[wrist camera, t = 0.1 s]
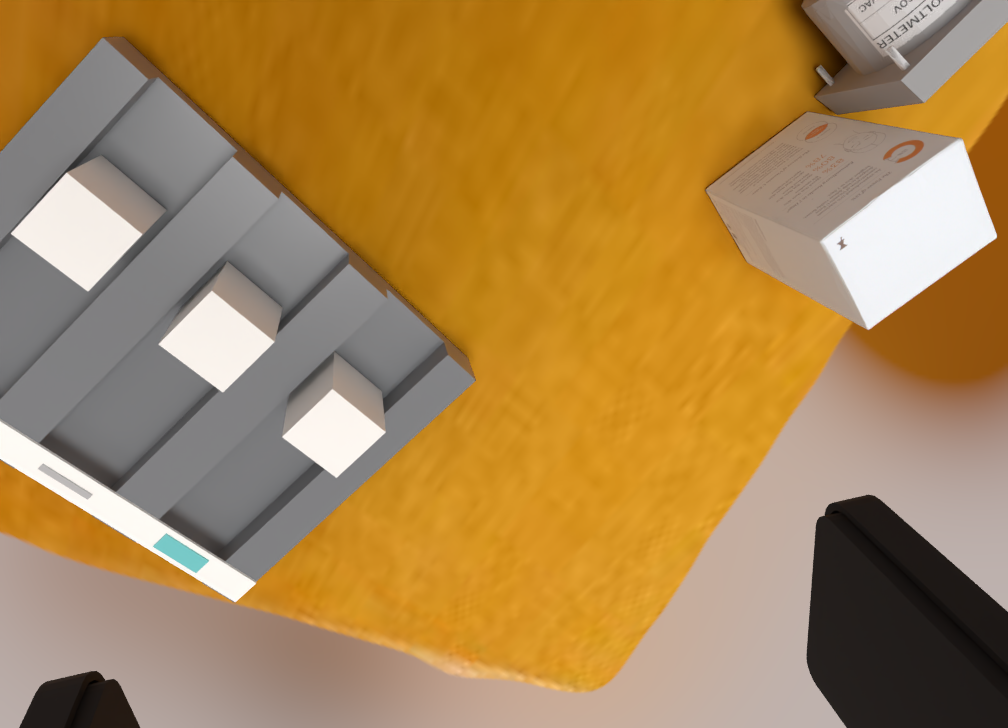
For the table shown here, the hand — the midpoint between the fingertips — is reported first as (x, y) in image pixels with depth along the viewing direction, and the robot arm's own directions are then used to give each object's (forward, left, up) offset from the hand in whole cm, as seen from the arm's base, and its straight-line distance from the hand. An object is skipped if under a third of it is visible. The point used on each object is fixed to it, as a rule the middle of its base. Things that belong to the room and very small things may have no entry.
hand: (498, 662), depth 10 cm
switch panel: (-1, -15, -37) cm, 40 cm away
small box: (+18, +18, -37) cm, 45 cm away
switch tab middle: (-1, -11, -35) cm, 37 cm away
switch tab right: (+7, -11, -35) cm, 38 cm away
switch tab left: (-9, -12, -35) cm, 38 cm away
